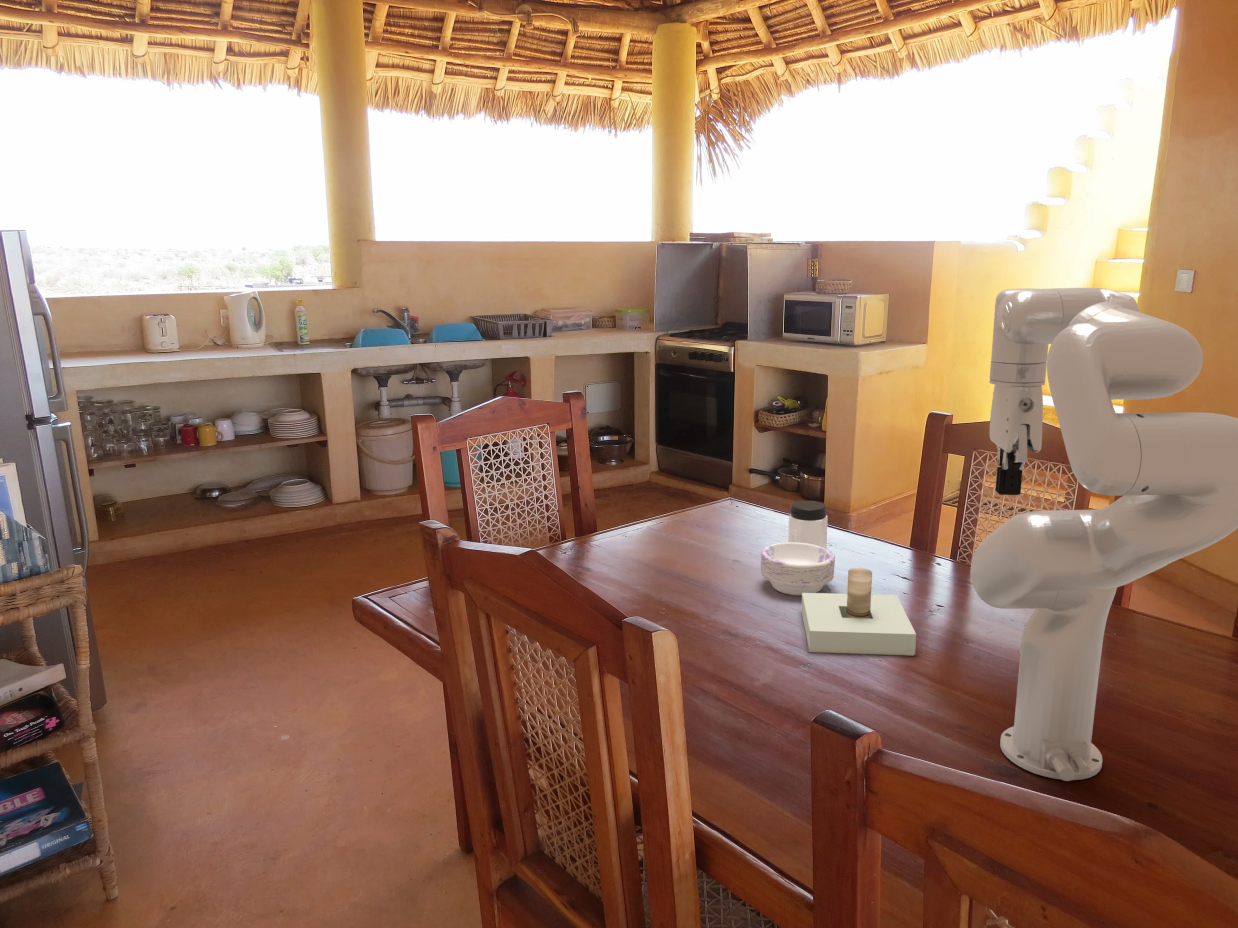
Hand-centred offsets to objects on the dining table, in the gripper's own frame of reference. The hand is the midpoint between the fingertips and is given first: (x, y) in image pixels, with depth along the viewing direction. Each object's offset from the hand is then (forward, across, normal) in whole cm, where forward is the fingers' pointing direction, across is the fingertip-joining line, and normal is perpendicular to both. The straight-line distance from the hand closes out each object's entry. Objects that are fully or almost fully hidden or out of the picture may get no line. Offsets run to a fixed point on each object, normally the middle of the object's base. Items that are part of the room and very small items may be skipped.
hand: (1007, 493), depth 130 cm
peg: (+32, +19, +18) cm, 42 cm away
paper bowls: (+32, +41, +28) cm, 59 cm away
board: (+32, +19, +19) cm, 42 cm away
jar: (+32, +63, +24) cm, 75 cm away
